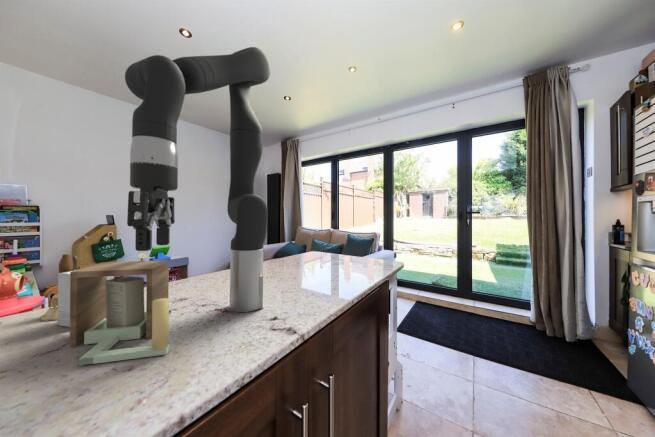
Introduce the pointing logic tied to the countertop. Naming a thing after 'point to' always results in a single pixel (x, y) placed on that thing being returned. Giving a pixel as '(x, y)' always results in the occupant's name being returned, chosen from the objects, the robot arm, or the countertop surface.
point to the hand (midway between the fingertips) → (154, 247)
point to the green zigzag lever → (128, 338)
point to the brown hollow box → (92, 292)
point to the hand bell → (52, 313)
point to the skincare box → (124, 301)
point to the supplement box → (65, 298)
